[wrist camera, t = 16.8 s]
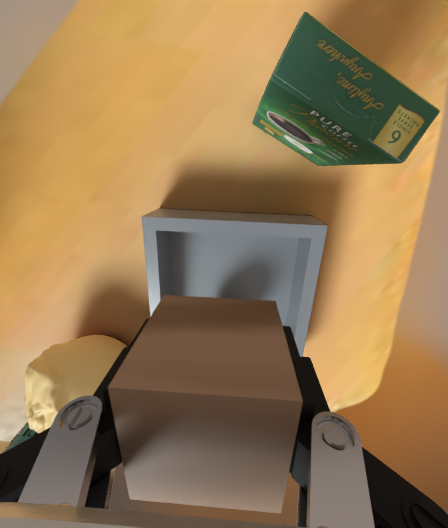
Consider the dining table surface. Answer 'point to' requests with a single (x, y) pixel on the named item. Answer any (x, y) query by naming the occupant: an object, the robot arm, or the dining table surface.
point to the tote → (236, 259)
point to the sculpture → (66, 376)
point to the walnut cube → (208, 405)
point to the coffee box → (339, 103)
